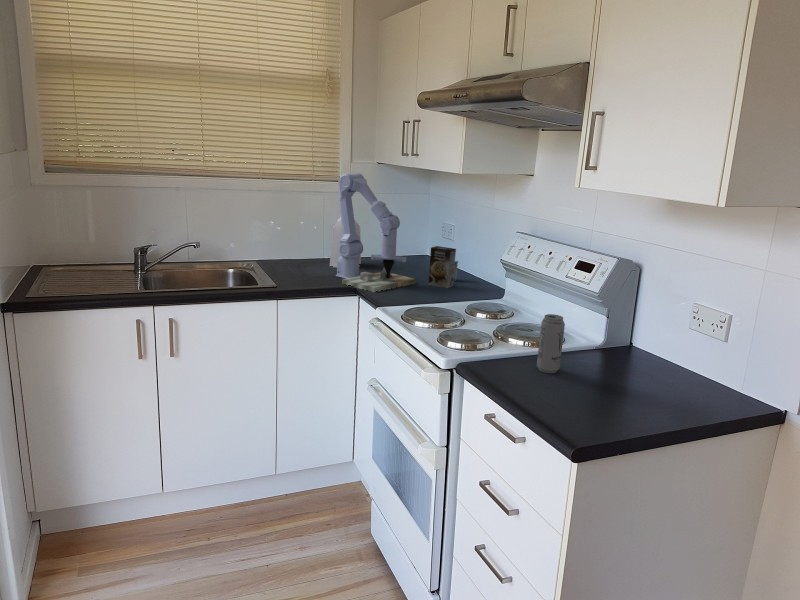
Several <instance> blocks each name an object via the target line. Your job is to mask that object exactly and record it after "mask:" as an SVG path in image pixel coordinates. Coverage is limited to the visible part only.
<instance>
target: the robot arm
mask: <svg viewBox="0 0 800 600" xmlns="http://www.w3.org/2000/svg"><path fill="white" fill-rule="evenodd" d="M337 181H338V192H337V198H338V203H339V205H338V206H339V211H340V212H339V214H340V217H341V221H342V228H343V237H342V238H341V240H340V247H339V251H340V254H341V255H342V256H340V257H339V259H338V261H337V267H336V274H335V277H338V278H341V279H347V278H352V277H358V276H361V274H360V265H359V257H360V254H361V255H362V253H363V251H364V245H363V242H362V241H361V236H360V237H359V236H358V235H357V234H356V228H355V221H356V220H355V215H354V206H353V201H352V199H353V198H352V197H353V196H354V194H355V193H356V192H358V193H359V194H360V195H362V197H364V199H365V200H366V201H367V202H368V204H369V205H370V206H371V208H370V209H371V213H373V214H374V216H375V217H376V218H377V220H378V221H379V222H380V223H379V225H380V228H381V234H382V243H381V244H382V246H381V249H382V250H381V254H376V253H375V254H371V255H370V256H371V257H370V260H372V261H373V260H377V261H382V265H383V268H384V267H385V270H386V273H387V275H386V278H390V271H391V272H392V268H393V266H394V264H395V262H402V263H406V262H407V256H402V255H397V236H398V235H397V232H398V228H399V227H400V225H401V222H400V221H401V220H400V219H399V217H398V215H394V214H393V212H392V211H390V209H389V208H388V207H387V206H386V205H387V203H385V202H383V200H382V201H381V200H379V199H378V198H377V197H376V196H375V193H374V192H373V191H372V189H371V188H370V186H369V184H368V182H367V181H368V180H367V179H366V178H365V177H364V175H363V174H361V173H343V174H342V175H341V176H339V179H338V180H337ZM354 220H355V221H354ZM350 241H351V242H350Z"/></svg>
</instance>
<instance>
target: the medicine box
mask: <svg viewBox="0 0 800 600" xmlns="http://www.w3.org/2000/svg"><path fill="white" fill-rule="evenodd" d="M458 264H459V261H458V260H455V266H454V278H453V283H454V282H456V281H457V278H458V266H459V265H458Z"/></svg>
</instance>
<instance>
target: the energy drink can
mask: <svg viewBox="0 0 800 600" xmlns="http://www.w3.org/2000/svg"><path fill="white" fill-rule="evenodd" d="M565 326H566V324H565V321H564V316H561V315H558V314H550V313H549V314H545V315H544V317H543V319H542V320H541V323H540V333H539V342H538V351H537V352H538V353H537V360H536V367H537V368H538V370H539V371H540V372H542V373H546V374H556V373H557V372H558V370H560V367H561V359H562V350H563V343H564V337H565V336H564V335H565Z"/></svg>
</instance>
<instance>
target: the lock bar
mask: <svg viewBox="0 0 800 600" xmlns="http://www.w3.org/2000/svg"><path fill="white" fill-rule="evenodd" d="M380 272H381V273H380ZM380 272H379V273H380V279H386V275H387V273H386V270H385V267H384V266H383V269H382V270H381V271H380ZM391 273H392V270H391V271H390V275H391Z"/></svg>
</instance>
